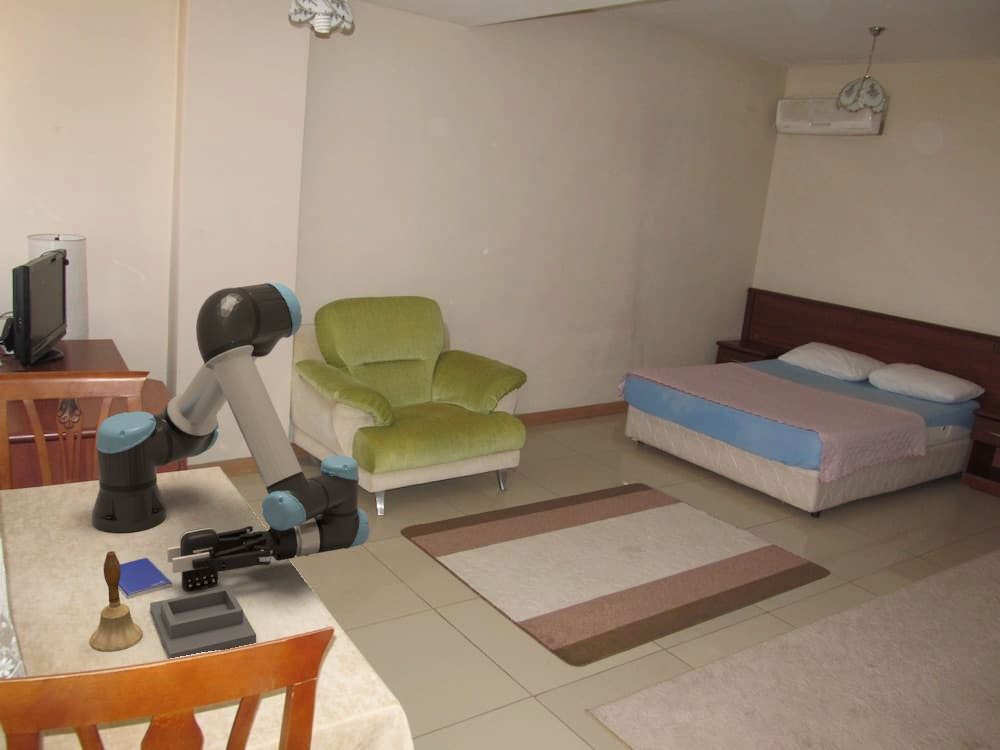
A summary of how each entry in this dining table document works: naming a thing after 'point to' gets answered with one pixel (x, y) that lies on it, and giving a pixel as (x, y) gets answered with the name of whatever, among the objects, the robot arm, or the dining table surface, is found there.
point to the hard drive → (141, 578)
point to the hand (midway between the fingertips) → (170, 560)
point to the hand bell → (115, 615)
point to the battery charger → (198, 544)
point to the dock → (202, 623)
